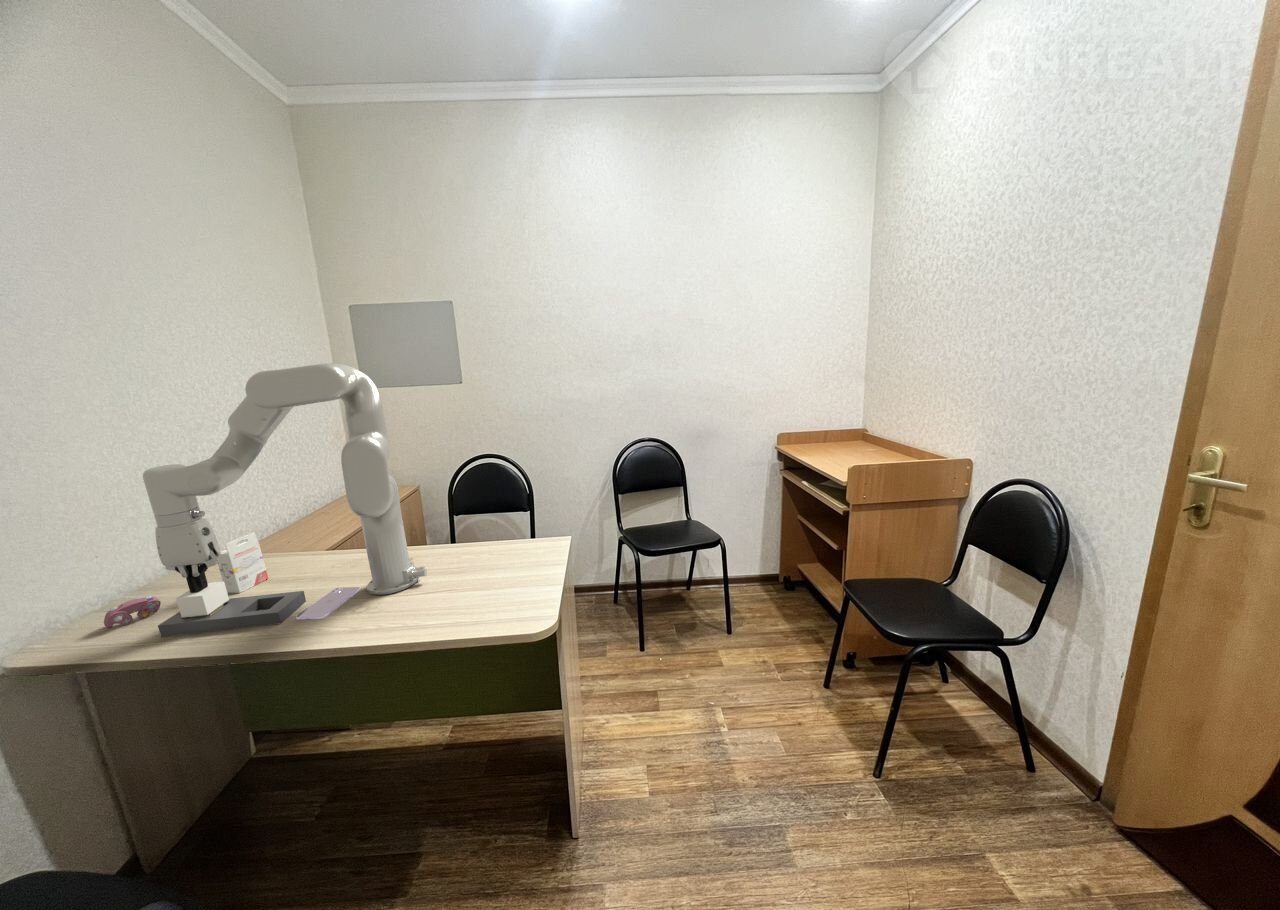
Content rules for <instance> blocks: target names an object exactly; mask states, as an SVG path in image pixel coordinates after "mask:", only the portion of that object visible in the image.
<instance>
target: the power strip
mask: <svg viewBox="0 0 1280 910" xmlns="http://www.w3.org/2000/svg"><path fill="white" fill-rule="evenodd" d="M306 602H307V600H306V595H305V591H304V590H299V591H289V592H280V593H271V594H262V595H261V594H258V595H251V596H240V597H233V598H232V597H230V598H229V600H228V601H227V602H225V603H224V604H223V605H224V606H223V607H222V608H221V609H219V610H218V611H216V612H215V613H213V614H212V615H211V616H205V617H196V618H190V617H184V618H182V617H181V614H180V611H178V612H176V613H175V614H174V615H172V616H171V617H169V618H167V619H166V620H164V621H163V622H161V623H160V624H157V629H158V632H159V634H160V638H166V637H174V636H183V635H184V636H185V635H192V634H202V633H211V632H212V633H213V632H220V631H229V630H237V629H238V630H239V629H247V628H256V627H263V626H271V625H272V626H273V625H282V624H283V622H285V621H286V620H287V619H288V618H289V617H291V615H293V614H294V613H295V612H296V611H297V610H298V609H299V608H301V606H303V605H304V604H305V603H306Z"/></svg>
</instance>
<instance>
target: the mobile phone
mask: <svg viewBox="0 0 1280 910" xmlns="http://www.w3.org/2000/svg"><path fill="white" fill-rule="evenodd" d="M360 591H361V587H359V586H355V587H353V586H351V587H349V586H348V587H336V588H334V589H332V590H331V591H329V592H328V593H327V594H325V595H324V596H323V597H320V599H318V600H317V601H315V602H314V603H313V604H311V605H310V606H309V607H307V608H306V609H304V610H303V611H302V612H300V613H299V614H297V616H295V619H296V620H299V621H301V620H307V621H308V620H322V619H325V618H326V617H328V616H329V615H331V614H332V613H333V612H334V611H335V610H338V608H339V607H341V606H342V605H343V604H345V602H347V601H348V600H349V599H351V598H352V597H354V596H355V595H356V594H358V592H360Z"/></svg>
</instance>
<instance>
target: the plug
mask: <svg viewBox="0 0 1280 910" xmlns="http://www.w3.org/2000/svg"><path fill="white" fill-rule="evenodd" d="M207 583H208V587H206V588H205V589H203V590H202V591H200V592H194V593H190V590H188V591H186V592H184V593H182V594H181V595H179V596H177V597H176V598H175V600H176V604H177V607H178V610H179V611H180V614H181V617H182V618H184V617H190V618H196V617H205V616H211V615H212V614H213V613H215V612H216V611H218V610H219V609H221V608H222V607H223V606H224V605H223V604H224V603H225V602H227V601H228V600H229V599H230V597H229V593H227V590H226V587H225V583H224V582H223V581H217V582H207ZM179 611H178V612H179Z"/></svg>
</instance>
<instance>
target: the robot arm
mask: <svg viewBox="0 0 1280 910" xmlns="http://www.w3.org/2000/svg"><path fill="white" fill-rule="evenodd" d="M244 389H245V394H246V396H245V397H244V398H243V399H242V401H241V402H240V403H239V404H238V406H237V407H236V408H235V410H233V411H232V413H231V414H230V416H229V417H228V419H227V423H228V427H229V431H228V434H227V436H226V438H225V439H224V441H223V442H222V444H221V445H220V446H219V447H218V449H216V451H215V452H214V453H213V455H211V457H210V458H208V459H204V460H203V461H200V462H197V463H194V464H191V465H187V466H186V465H185V464H181V463H175V464H166V465H159V466H154V467H150V468H147V469H145V470H144V471H143V473H142V479H143V484H144V486H145V489H146V492H147V496H148V500H149V502H150V506H151V509H152V510H151V511H152V513H153V517H154V520H155V523H156V527H155V530H154V531H155V532H154V533H155V544H156V549H157V550H156V551H157V553H158V554H157V555H158V558H159V560H160V563H161V564H162V565H163V566H165V570H166V571H171V572H172V571H173V572H175V571H176V572H177V573H178V574H180V575H181V578H184V579H186V583H187V585H188V589H189V590H190V593H194V592H200V591H202V590H203V589H205V588H206V587H208V583H209V582H208V579H207V577H206V572H207V571H208V569H209V568H211V567H214V566H216V565H218V563H219V561H218V559H217V557H216V556H219V555H220V552H221V548H220V545H219V541H218V539H217V537H216V534H215V532H214V530H213V528H212V526H211V524H210V522H209V521H208V520H207V518H203V517H205V516H206V512H205V511H204V510H201V509H200V506H199V502H198V499H197V496H198V497H204V496H210V495H214V494H217V493H218V492H220V491H222V490H224V489H225V488H227V487H229V486H231V485H233V484H235V483H236V482H237V481H238V480H239V479H240V478H241V477H243V475H244V474H245V473H246V471H247V470H248V469H249V467H250V466H251V465H253V463H254V461H256V458H257V457H258V456H259V455H260V453H261V452H262V450H263V448H264V447H265V445H266V444H267V442H268V440H269V438H270V437H271V436H272V434H273V433H274V432H275V430H276V429H277V428H278V426H279V425H280V424H281V423H282V422H283V420H284V419H285V418H286V417H287V416H288V414H289V413H290V412H291V410H293V408H294V407H299V406H304V405H312V404H317V403H324V402H325V403H326V402H330V401H331V402H333V401H336V400H339V399H341V401H342V403H343V405H344V409H345V411H344V413H345V415H344V416H345V422H346V427H347V433H348V441H347V442H346V443H345V444H344V446H343V448H342V450H341V456H340V457H341V458H340V463H341V469H342V475H343V481H344V488H345V494H346V499H347V504H348V506H349V508H350V509H351V511H352V512H353V513H354V514H355V515H357V516H359V517H360V523H361V528H362V534H363V540H364V544H365V549H366V553H367V555H366V556H367V559H368V564H369V569H370V570H369V571H370V573H371V580H370V581H369V582H368V583H367V586H366V590H367V592H368V593H369V594H372V595H377V596H379V595H381V596H382V595H389V594H394V593H398V592H401V591H403V590H407V589H408V588H410V587H412V586H413V585H415V584H416V583H417V582H418V580H420V579H419V578H420V577H421V578H422V577H427V574H428V570H427V568H426V566H424V565H423V566H418V567H416V566H415V562H414V561H410V557H409V551H408V549H409V548H408V544H407V539H406V533H405V528H404V521H403V516H402V514H403V513H402V508H401V499H400V491H399V486H398V483H397V481H396V479H395V478H394V477H393V476H392V475H391V474H389V466H388V460H389V458H390V455H391V447H390V441H389V437H388V429H387V424H386V423H387V422H386V417H385V414H384V413H385V412H384V407H383V406H384V405H383V401H382V397H381V393H380V392H379V391H380V390H379V389H378V387H377V385H376V383H375V382H374V381H373V380H372V379H371V378H370V377H369V375H368V374H366V373H364V372H363V371H361V370H359V369H358V368H355V367H353V366H350V365H347V364H344V363H339V362H335V363H334V362H328V363H317V364H311V365H304V366H297V367H289V368H288V367H287V368H282V369H281V368H280V369H271V370H263V371H262V370H261V371H259V372H256V373H254V374H253V375H252V376H250V377H249V379H248V380H247V381H246V384H245V388H244ZM189 590H188V591H189Z"/></svg>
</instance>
